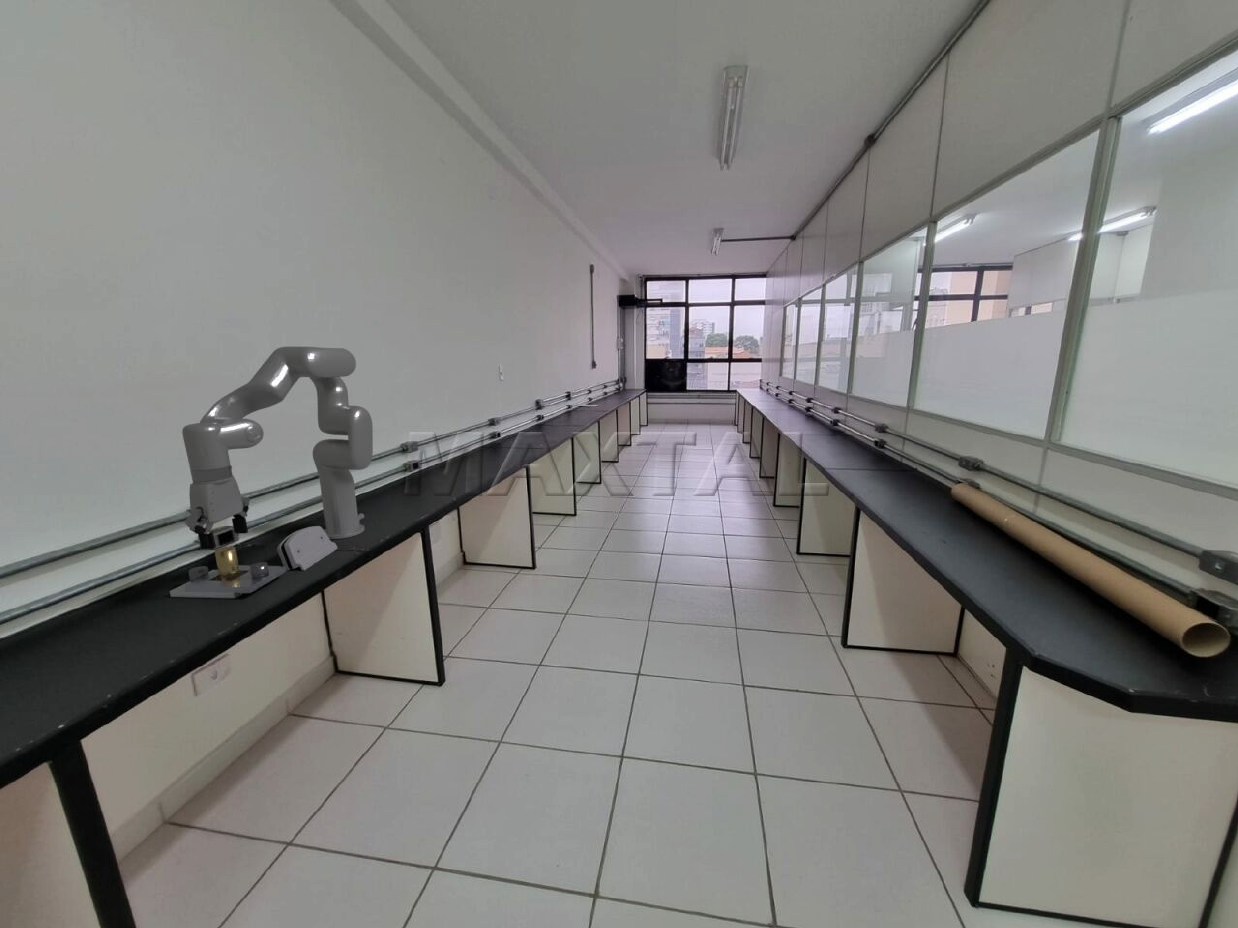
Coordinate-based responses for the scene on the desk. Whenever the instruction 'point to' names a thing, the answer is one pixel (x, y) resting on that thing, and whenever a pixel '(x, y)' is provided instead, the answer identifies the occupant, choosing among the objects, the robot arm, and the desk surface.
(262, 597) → the desk surface
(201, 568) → the knobbed base plate
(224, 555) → the pin
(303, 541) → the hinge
